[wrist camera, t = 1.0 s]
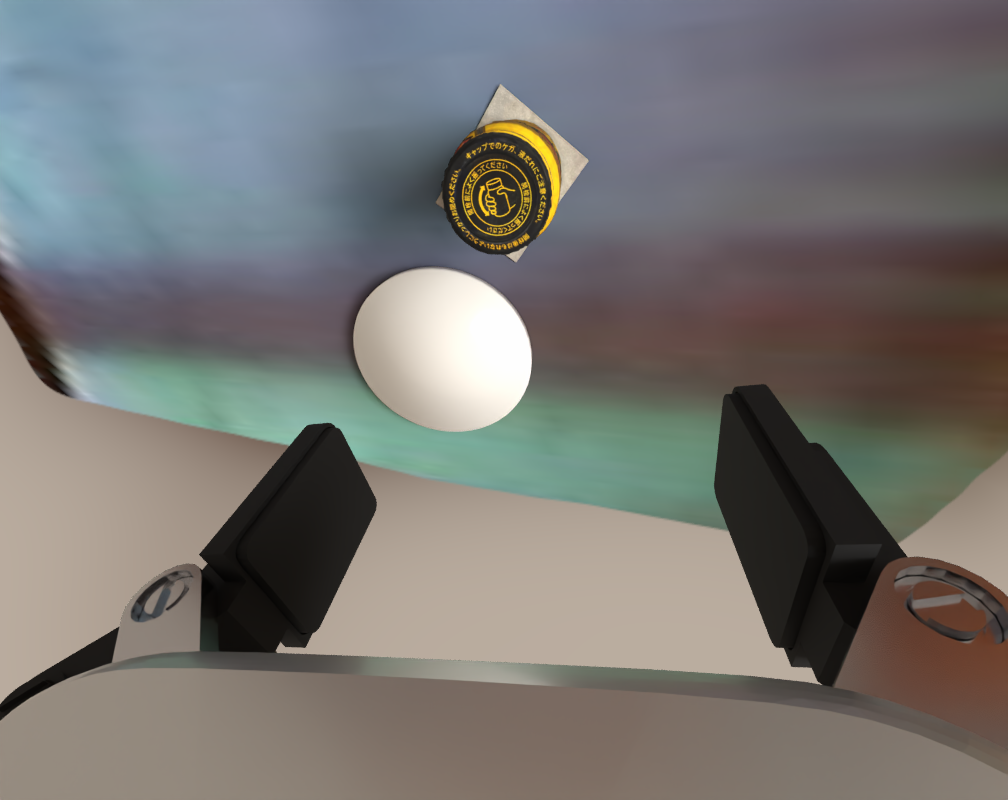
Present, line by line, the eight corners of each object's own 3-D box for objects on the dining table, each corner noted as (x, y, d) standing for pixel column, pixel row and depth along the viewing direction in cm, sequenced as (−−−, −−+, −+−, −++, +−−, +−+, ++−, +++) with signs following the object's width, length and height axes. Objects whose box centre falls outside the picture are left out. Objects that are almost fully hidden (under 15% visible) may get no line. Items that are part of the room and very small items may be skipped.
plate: (331, 278, 35) (325, 282, 34) (518, 254, 32) (517, 257, 31) (388, 429, 44) (385, 435, 43) (541, 421, 41) (540, 427, 40)
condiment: (588, 160, 28) (601, 182, 18) (516, 261, 33) (494, 323, 23) (500, 84, 27) (462, 63, 17) (436, 202, 31) (376, 240, 21)
